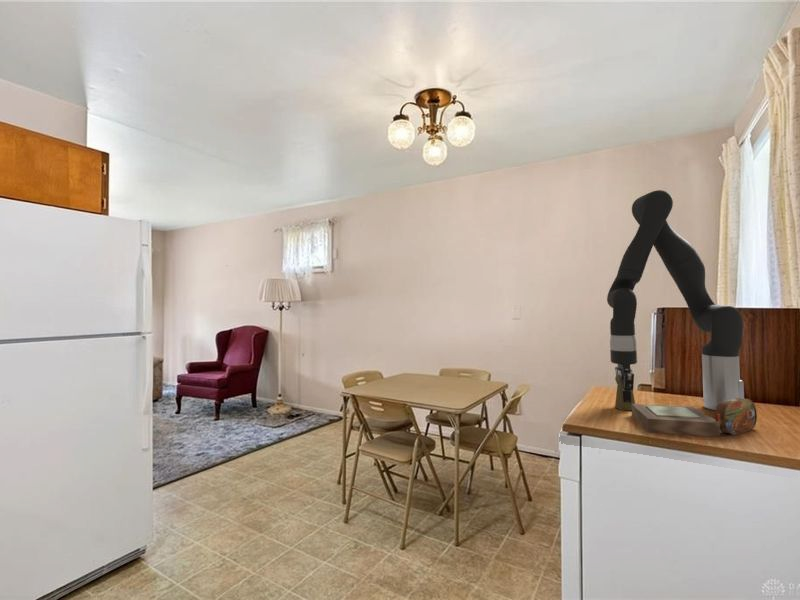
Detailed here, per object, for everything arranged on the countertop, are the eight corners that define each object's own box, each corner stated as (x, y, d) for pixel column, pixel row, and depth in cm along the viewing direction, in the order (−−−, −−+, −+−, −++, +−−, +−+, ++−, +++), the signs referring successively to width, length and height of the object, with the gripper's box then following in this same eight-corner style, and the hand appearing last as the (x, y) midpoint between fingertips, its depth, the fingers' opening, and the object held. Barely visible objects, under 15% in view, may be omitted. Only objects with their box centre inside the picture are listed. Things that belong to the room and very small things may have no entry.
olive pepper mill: (610, 405, 128) (609, 372, 128) (627, 404, 129) (626, 372, 129) (623, 410, 122) (621, 376, 122) (640, 409, 123) (639, 375, 123)
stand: (693, 418, 113) (692, 405, 113) (720, 436, 98) (719, 421, 98) (631, 415, 118) (631, 402, 118) (648, 432, 102) (648, 417, 103)
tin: (727, 437, 97) (725, 404, 98) (713, 433, 100) (711, 401, 100) (759, 428, 103) (757, 397, 104) (744, 425, 106) (743, 395, 106)
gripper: (642, 351, 118) (645, 407, 118) (630, 346, 131) (632, 396, 131) (615, 351, 120) (617, 406, 120) (605, 346, 134) (607, 395, 133)
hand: (625, 400), depth 125 cm, fingers closed on olive pepper mill, 4 cm apart
